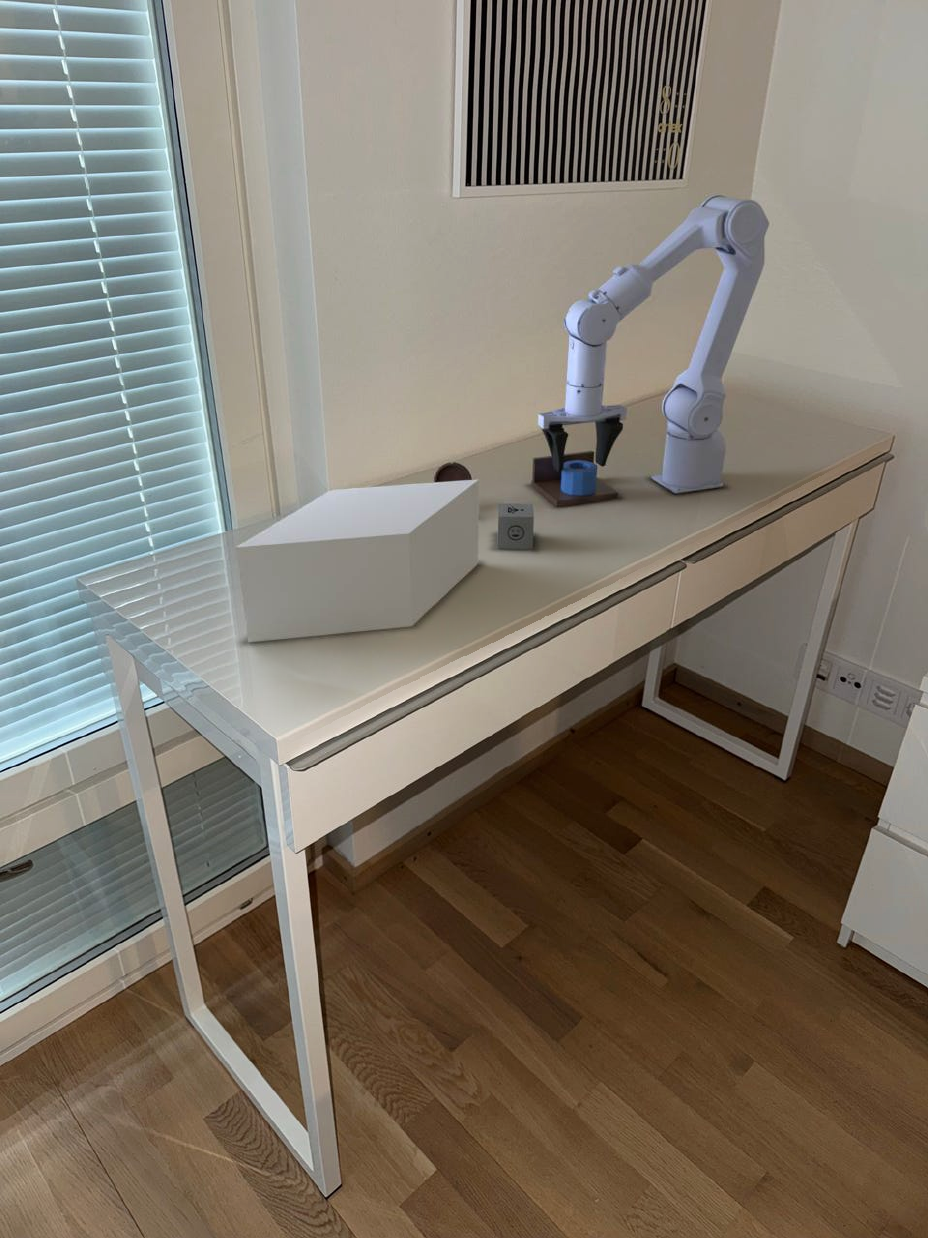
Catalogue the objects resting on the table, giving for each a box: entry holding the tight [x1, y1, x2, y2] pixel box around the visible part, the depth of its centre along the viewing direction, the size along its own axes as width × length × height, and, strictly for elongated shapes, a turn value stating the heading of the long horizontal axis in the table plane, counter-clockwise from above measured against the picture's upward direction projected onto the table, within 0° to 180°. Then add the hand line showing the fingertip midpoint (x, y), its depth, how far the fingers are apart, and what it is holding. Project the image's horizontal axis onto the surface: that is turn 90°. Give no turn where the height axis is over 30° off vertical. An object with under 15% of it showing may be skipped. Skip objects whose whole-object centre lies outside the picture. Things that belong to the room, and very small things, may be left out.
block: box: [235, 479, 480, 643], centre depth 114 cm, size 18×35×12 cm, turn 128°
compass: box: [433, 461, 473, 483], centre depth 140 cm, size 8×8×7 cm
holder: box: [530, 450, 619, 508], centre depth 149 cm, size 11×10×5 cm
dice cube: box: [497, 502, 535, 550], centre depth 132 cm, size 5×5×5 cm
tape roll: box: [561, 460, 598, 496], centre depth 148 cm, size 6×6×4 cm
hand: (579, 466), depth 147 cm, fingers open, 7 cm apart
